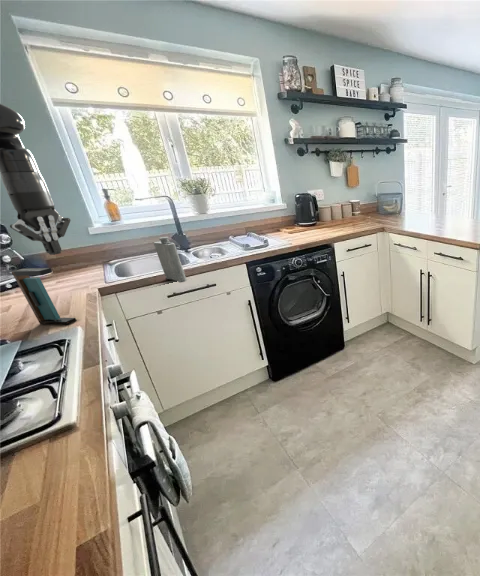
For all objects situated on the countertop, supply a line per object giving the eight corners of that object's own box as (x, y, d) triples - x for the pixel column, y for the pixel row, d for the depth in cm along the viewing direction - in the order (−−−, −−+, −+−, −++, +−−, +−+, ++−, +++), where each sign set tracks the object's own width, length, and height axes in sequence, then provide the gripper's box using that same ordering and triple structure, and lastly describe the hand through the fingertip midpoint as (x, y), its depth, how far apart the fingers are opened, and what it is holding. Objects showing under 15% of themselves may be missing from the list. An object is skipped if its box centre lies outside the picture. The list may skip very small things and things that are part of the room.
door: (53, 321, 105) (31, 280, 100) (40, 320, 106) (18, 280, 101) (63, 316, 108) (43, 276, 103) (51, 316, 109) (30, 276, 104)
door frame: (67, 325, 105) (39, 270, 98) (40, 324, 107) (10, 271, 100) (76, 320, 108) (50, 267, 101) (50, 320, 110) (22, 268, 103)
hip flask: (164, 278, 148) (150, 237, 141) (173, 275, 151) (160, 235, 144) (180, 282, 139) (166, 239, 132) (190, 279, 142) (176, 237, 135)
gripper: (46, 189, 89) (70, 248, 95) (-17, 192, 76) (15, 260, 82) (67, 188, 87) (90, 248, 93) (6, 191, 75) (37, 260, 81)
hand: (55, 254), depth 88 cm, fingers closed
